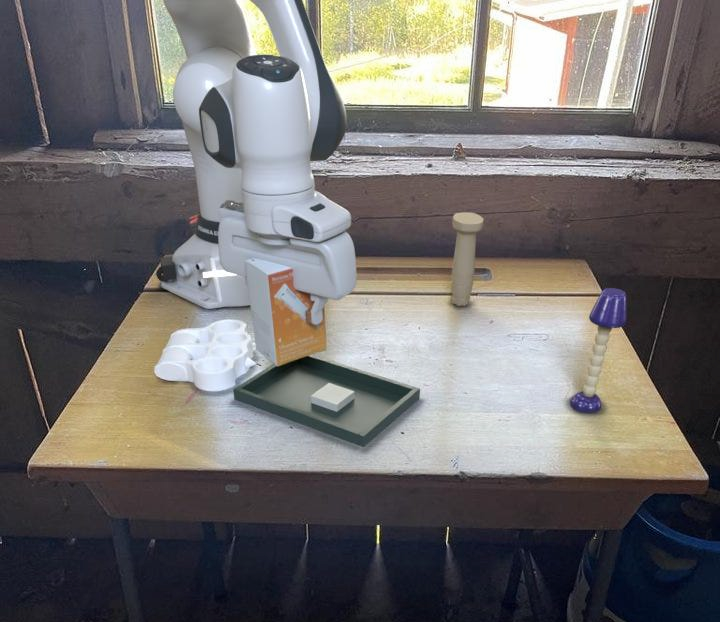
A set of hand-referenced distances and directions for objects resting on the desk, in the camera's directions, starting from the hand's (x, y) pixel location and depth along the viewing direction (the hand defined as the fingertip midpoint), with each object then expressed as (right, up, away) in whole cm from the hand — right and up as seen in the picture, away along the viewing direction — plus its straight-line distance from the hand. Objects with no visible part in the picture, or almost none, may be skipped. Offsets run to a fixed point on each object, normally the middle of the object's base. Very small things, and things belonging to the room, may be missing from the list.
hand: (288, 315), depth 97 cm
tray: (+5, -11, +5) cm, 13 cm away
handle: (+27, +10, +33) cm, 44 cm away
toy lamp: (+41, -12, +5) cm, 43 cm away
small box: (0, -4, +3) cm, 5 cm away
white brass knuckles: (-13, -5, +14) cm, 19 cm away
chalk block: (+6, -11, +4) cm, 13 cm away
